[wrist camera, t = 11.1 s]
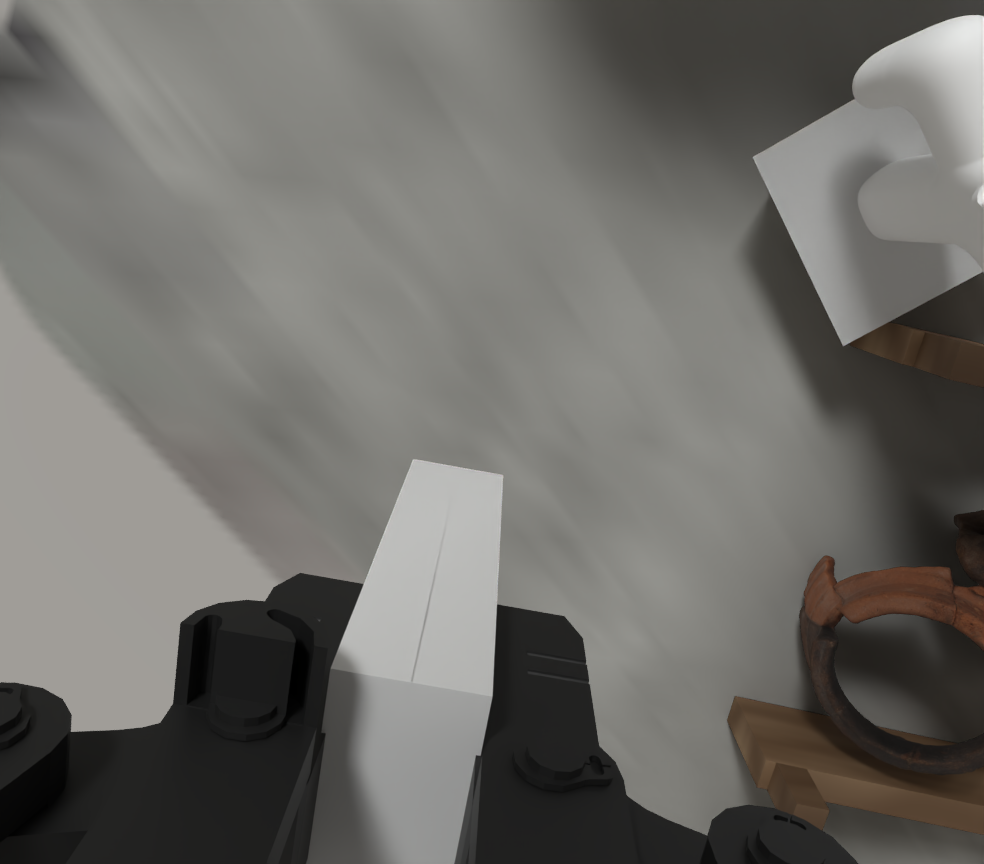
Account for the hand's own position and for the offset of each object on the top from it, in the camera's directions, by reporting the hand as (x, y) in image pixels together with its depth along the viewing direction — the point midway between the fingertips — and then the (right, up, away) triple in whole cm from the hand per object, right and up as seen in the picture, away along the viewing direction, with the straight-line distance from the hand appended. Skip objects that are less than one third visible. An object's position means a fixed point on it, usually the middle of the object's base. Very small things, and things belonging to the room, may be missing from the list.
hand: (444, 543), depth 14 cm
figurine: (+14, +11, +18) cm, 26 cm away
